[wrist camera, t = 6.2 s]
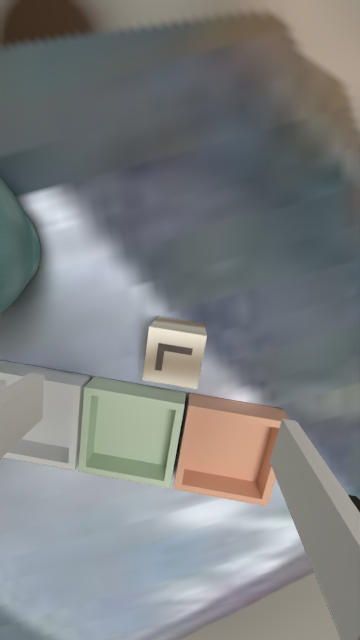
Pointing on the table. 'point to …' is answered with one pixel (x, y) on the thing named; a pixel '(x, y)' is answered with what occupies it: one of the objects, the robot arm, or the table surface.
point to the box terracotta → (228, 449)
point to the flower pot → (15, 248)
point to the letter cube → (174, 352)
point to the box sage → (130, 431)
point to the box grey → (51, 417)
